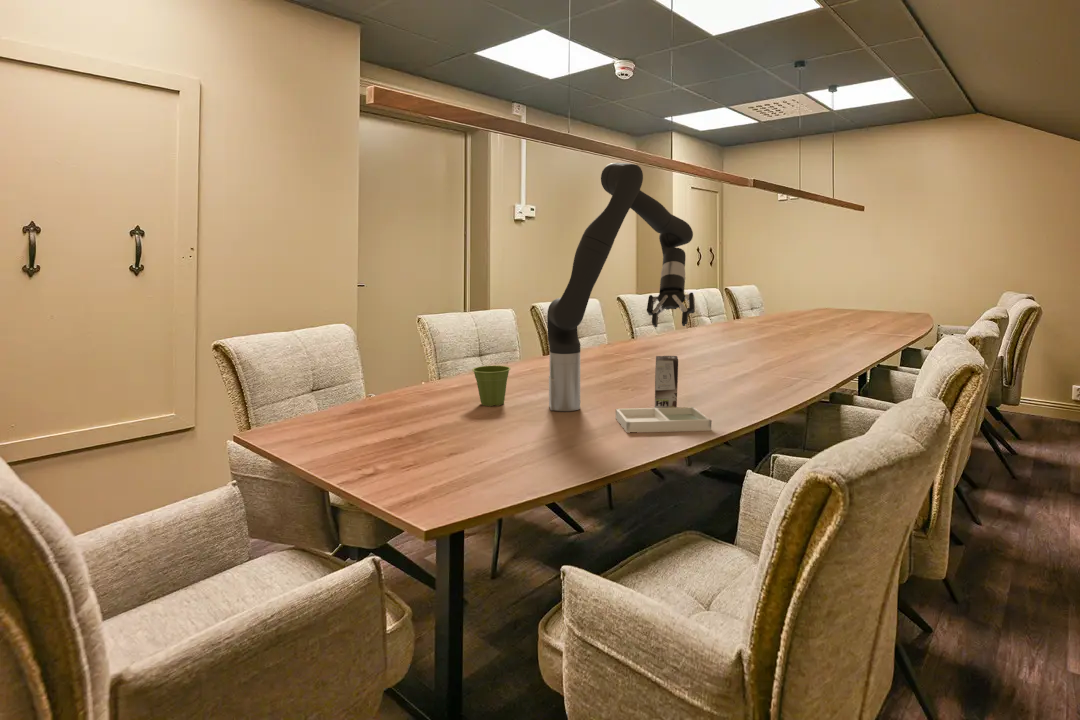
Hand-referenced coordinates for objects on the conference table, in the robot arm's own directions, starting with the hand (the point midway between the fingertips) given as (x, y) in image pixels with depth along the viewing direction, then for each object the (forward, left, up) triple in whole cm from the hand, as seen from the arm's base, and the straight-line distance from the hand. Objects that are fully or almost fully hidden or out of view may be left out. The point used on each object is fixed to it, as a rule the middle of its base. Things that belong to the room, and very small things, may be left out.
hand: (669, 325), depth 186 cm
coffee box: (-3, -9, -25) cm, 27 cm away
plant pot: (-54, +6, -25) cm, 60 cm away
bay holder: (-8, -23, -24) cm, 35 cm away
